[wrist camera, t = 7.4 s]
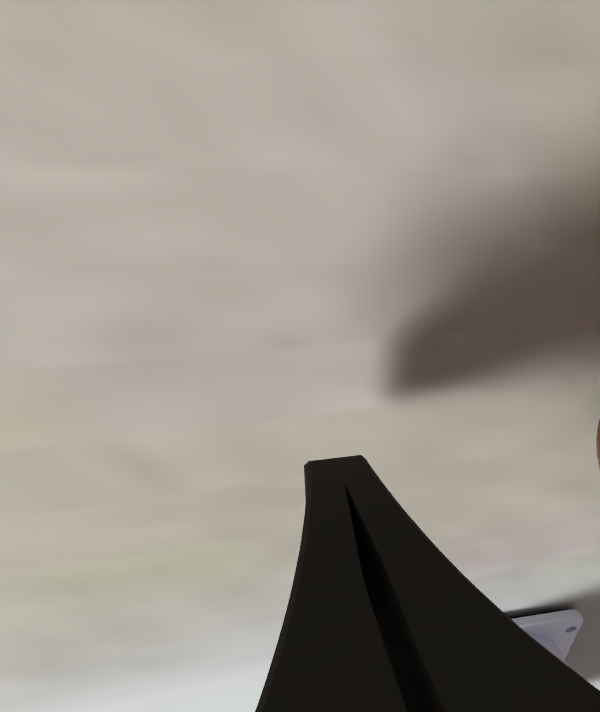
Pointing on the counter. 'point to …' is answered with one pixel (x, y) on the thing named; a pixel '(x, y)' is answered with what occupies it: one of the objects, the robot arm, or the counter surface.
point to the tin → (598, 443)
